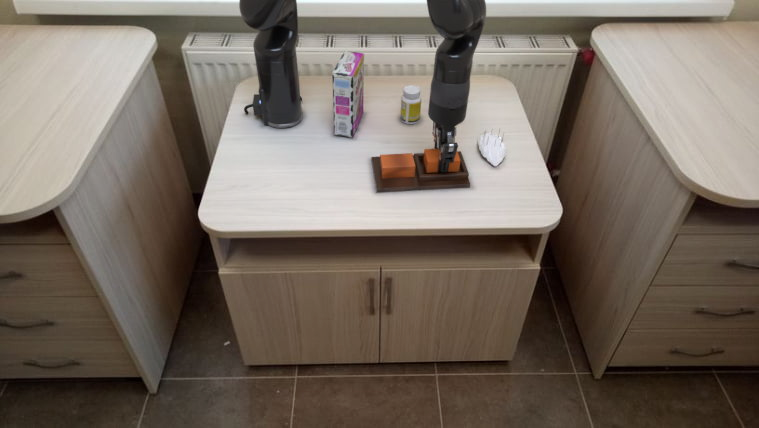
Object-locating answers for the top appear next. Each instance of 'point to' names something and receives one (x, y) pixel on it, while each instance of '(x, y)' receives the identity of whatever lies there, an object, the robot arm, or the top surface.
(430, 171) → the loose pad
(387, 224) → the top surface
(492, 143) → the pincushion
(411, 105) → the supplement bottle
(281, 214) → the top surface
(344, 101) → the candy bar box
